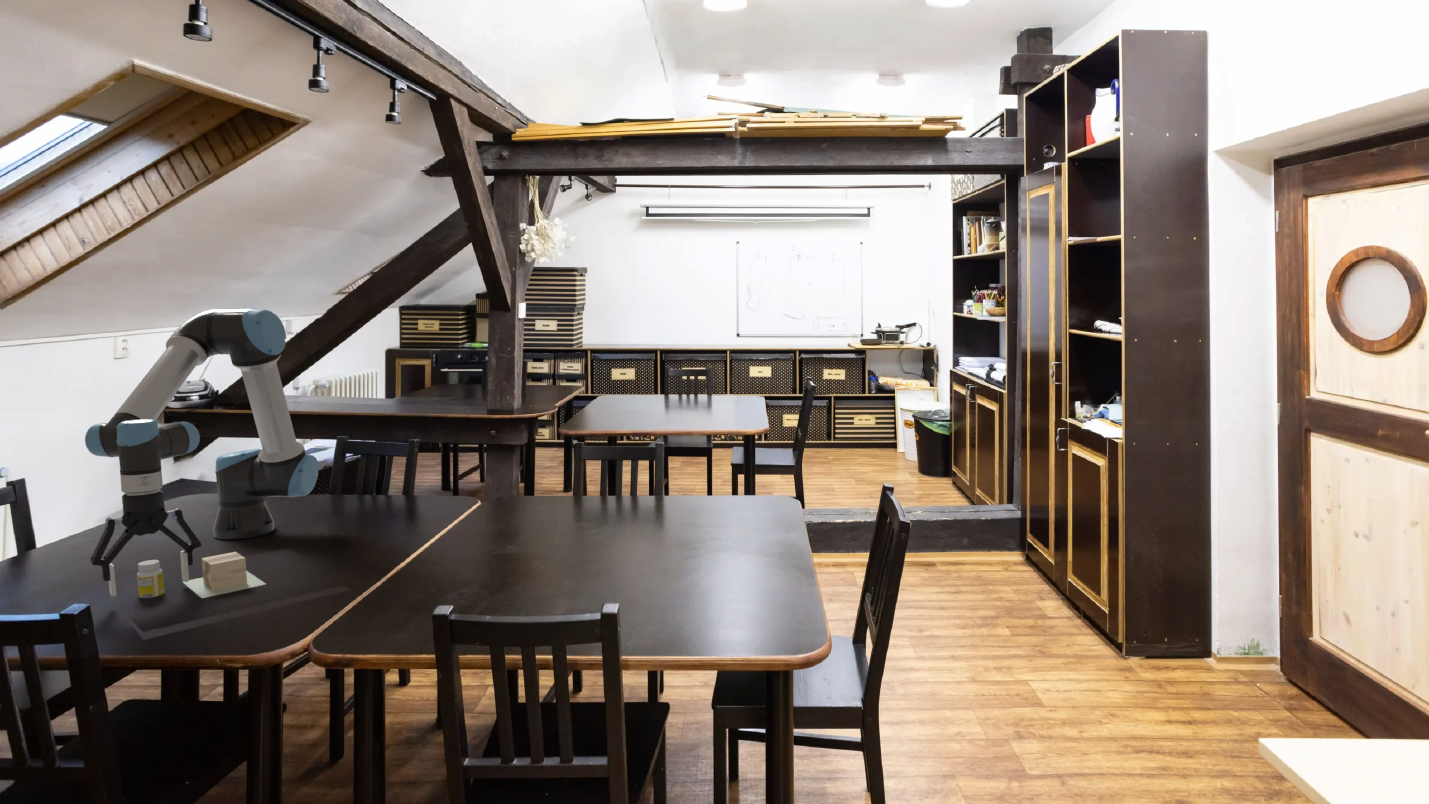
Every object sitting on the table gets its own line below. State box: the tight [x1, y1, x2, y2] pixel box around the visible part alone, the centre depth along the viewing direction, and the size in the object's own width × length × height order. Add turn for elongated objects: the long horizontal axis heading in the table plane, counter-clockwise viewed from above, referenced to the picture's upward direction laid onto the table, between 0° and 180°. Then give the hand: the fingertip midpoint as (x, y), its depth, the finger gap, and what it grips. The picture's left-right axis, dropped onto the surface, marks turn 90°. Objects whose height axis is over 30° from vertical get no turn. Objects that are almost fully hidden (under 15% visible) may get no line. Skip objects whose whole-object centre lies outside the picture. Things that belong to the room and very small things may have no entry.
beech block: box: [201, 551, 247, 591], centre depth 196 cm, size 7×7×6 cm
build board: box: [182, 570, 267, 599], centre depth 198 cm, size 16×13×1 cm
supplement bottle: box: [136, 559, 166, 599], centre depth 190 cm, size 5×5×8 cm
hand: (150, 587), depth 190 cm, fingers open, 13 cm apart
